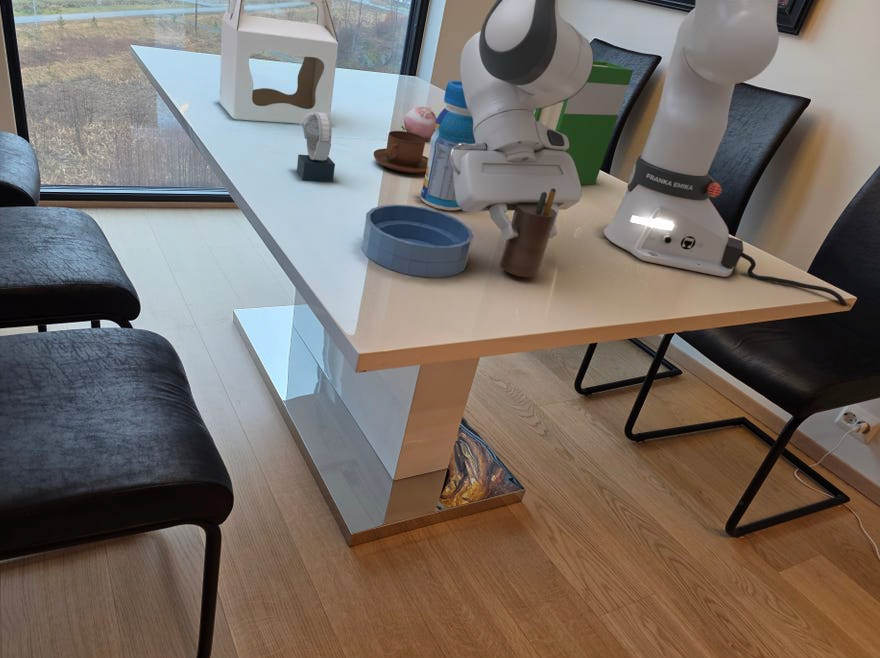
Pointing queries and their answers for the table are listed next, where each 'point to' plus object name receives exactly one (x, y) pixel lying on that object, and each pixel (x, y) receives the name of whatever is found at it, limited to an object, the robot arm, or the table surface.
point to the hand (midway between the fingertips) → (531, 238)
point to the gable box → (281, 37)
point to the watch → (316, 148)
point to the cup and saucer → (403, 152)
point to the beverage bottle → (447, 148)
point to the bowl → (416, 241)
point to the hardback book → (589, 117)
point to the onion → (420, 122)
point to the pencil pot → (529, 236)
